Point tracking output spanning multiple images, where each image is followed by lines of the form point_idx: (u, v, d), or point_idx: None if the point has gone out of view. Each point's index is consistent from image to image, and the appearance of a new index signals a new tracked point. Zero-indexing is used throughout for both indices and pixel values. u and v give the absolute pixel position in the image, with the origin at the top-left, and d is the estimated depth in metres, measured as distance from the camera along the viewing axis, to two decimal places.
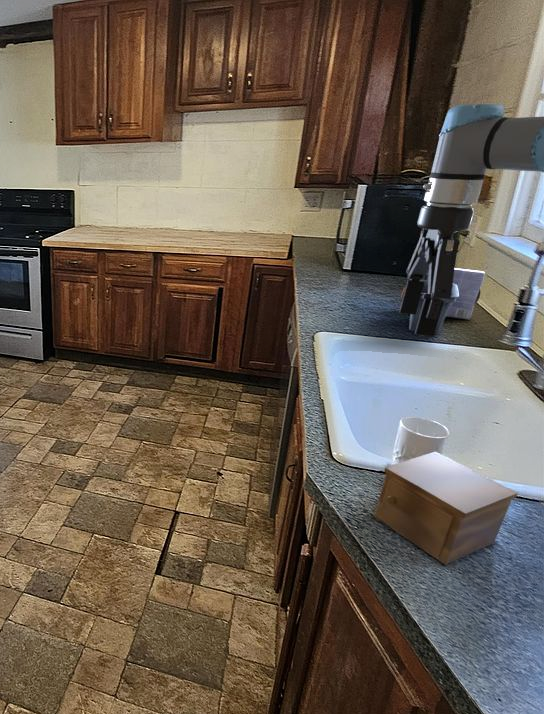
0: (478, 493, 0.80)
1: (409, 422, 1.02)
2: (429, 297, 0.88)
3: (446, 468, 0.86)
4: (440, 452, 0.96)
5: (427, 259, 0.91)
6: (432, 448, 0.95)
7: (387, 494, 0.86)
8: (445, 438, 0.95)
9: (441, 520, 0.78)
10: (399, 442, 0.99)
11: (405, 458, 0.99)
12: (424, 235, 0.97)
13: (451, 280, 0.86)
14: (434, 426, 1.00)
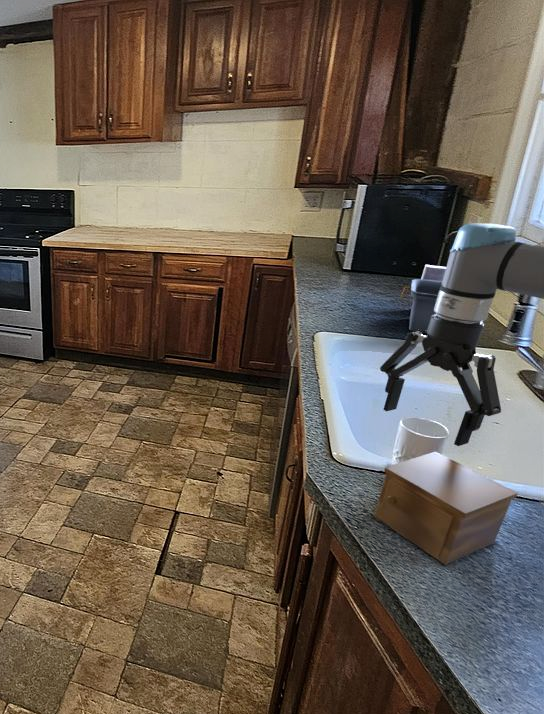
0: (478, 493, 0.80)
1: (409, 422, 1.02)
2: (478, 413, 0.88)
3: (446, 468, 0.86)
4: (440, 452, 0.96)
5: (456, 373, 0.90)
6: (432, 448, 0.95)
7: (387, 494, 0.86)
8: (445, 438, 0.95)
9: (441, 520, 0.78)
10: (399, 442, 0.99)
11: (405, 458, 0.99)
12: (413, 339, 0.97)
13: (497, 395, 0.87)
14: (434, 426, 1.00)
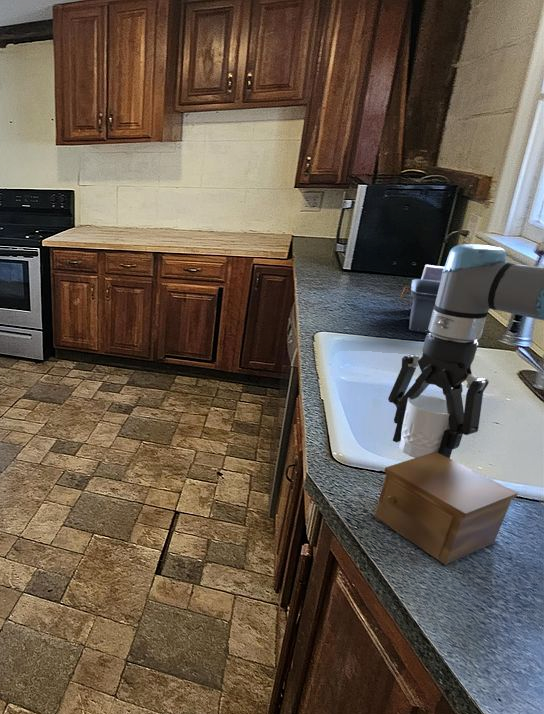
0: (478, 493, 0.80)
1: (417, 400, 1.00)
2: (456, 433, 0.92)
3: (446, 468, 0.86)
4: None
5: (446, 392, 0.92)
6: (441, 425, 0.93)
7: (387, 494, 0.86)
8: None
9: (441, 520, 0.78)
10: (407, 421, 0.97)
11: (414, 436, 0.97)
12: (409, 362, 0.98)
13: (479, 416, 0.90)
14: (443, 404, 0.98)
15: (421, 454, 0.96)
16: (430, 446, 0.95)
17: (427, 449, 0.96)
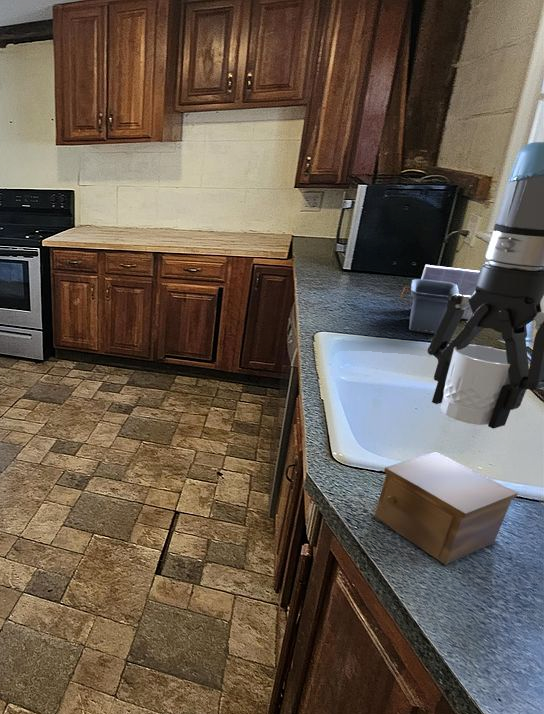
0: (478, 493, 0.80)
1: (465, 351, 0.80)
2: (518, 388, 0.73)
3: (446, 468, 0.86)
4: None
5: (507, 336, 0.72)
6: (498, 379, 0.74)
7: (387, 494, 0.86)
8: None
9: (441, 520, 0.78)
10: (453, 375, 0.78)
11: (461, 394, 0.77)
12: (457, 302, 0.79)
13: None
14: (498, 355, 0.78)
15: (470, 416, 0.77)
16: (482, 406, 0.76)
17: (478, 410, 0.76)
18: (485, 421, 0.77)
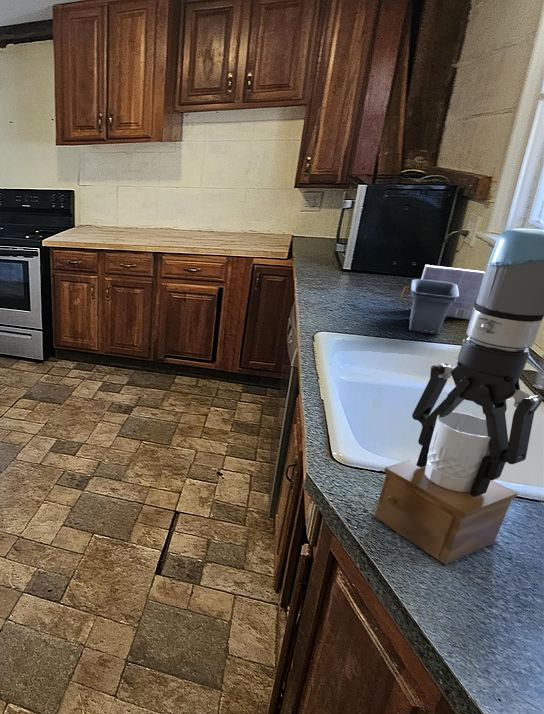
0: None
1: (448, 418, 0.83)
2: (497, 461, 0.75)
3: None
4: None
5: (487, 411, 0.75)
6: (479, 451, 0.76)
7: (387, 494, 0.86)
8: None
9: (441, 520, 0.78)
10: (436, 443, 0.80)
11: (444, 463, 0.80)
12: (440, 372, 0.81)
13: (527, 442, 0.73)
14: (479, 423, 0.81)
15: (452, 484, 0.80)
16: (464, 475, 0.79)
17: (460, 478, 0.79)
18: (467, 488, 0.80)
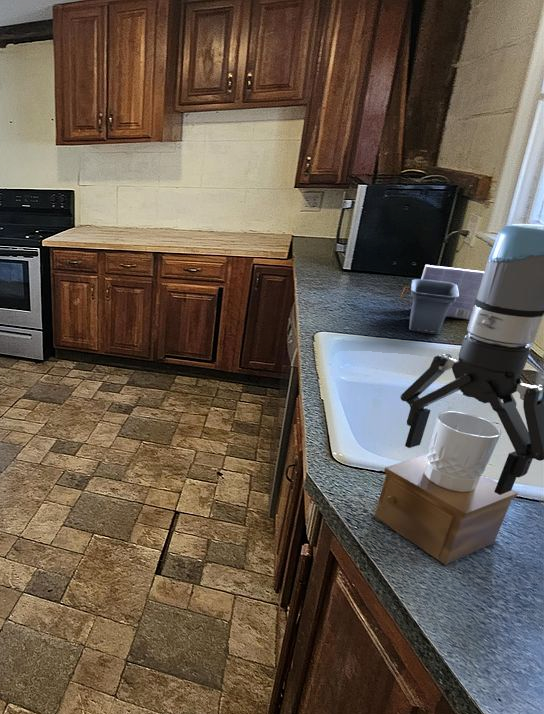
0: (478, 493, 0.80)
1: (448, 418, 0.83)
2: (526, 456, 0.72)
3: None
4: (489, 455, 0.77)
5: (496, 406, 0.74)
6: (479, 451, 0.76)
7: (387, 494, 0.86)
8: (496, 438, 0.76)
9: (441, 520, 0.78)
10: (436, 443, 0.80)
11: (444, 463, 0.80)
12: (441, 364, 0.81)
13: None
14: (479, 423, 0.81)
15: (452, 484, 0.80)
16: (464, 475, 0.79)
17: (460, 478, 0.79)
18: (467, 488, 0.80)
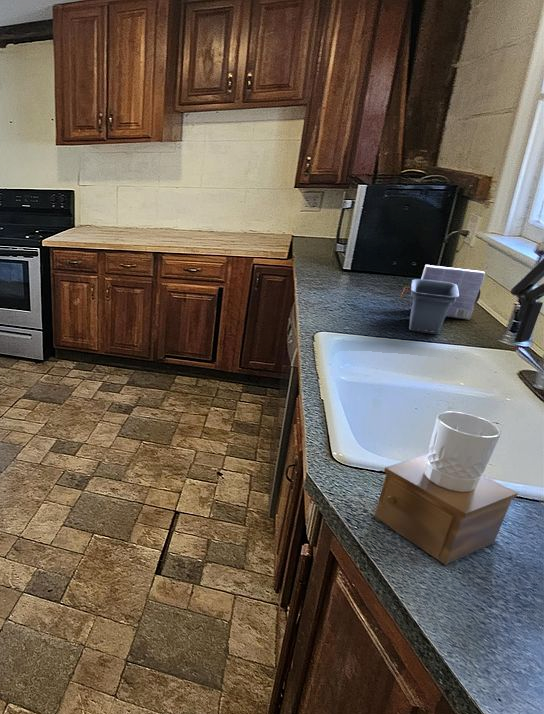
0: (478, 493, 0.80)
1: (447, 418, 0.83)
2: None
3: None
4: (489, 455, 0.77)
5: None
6: (479, 450, 0.76)
7: (387, 494, 0.86)
8: (496, 438, 0.76)
9: (441, 520, 0.78)
10: (436, 443, 0.80)
11: (444, 463, 0.80)
12: None
13: None
14: (479, 423, 0.81)
15: (452, 484, 0.80)
16: (464, 475, 0.79)
17: (460, 478, 0.79)
18: (467, 488, 0.80)
